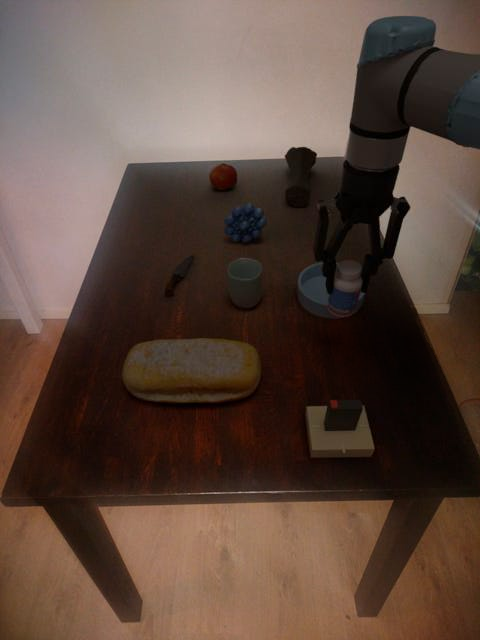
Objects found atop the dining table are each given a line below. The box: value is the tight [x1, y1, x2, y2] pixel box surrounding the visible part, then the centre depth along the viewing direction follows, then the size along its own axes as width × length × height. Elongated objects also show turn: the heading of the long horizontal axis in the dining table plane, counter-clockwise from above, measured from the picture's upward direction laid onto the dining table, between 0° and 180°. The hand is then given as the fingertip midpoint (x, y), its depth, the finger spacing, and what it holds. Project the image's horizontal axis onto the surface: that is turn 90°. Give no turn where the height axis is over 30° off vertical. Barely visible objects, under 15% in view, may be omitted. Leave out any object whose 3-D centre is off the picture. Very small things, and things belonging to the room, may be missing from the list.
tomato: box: [209, 162, 238, 191], centre depth 127 cm, size 9×9×8 cm
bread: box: [121, 337, 262, 405], centre depth 73 cm, size 13×26×8 cm, turn 90°
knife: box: [163, 255, 194, 298], centre depth 98 cm, size 17×2×5 cm
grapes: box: [224, 202, 268, 244], centre depth 104 cm, size 12×7×12 cm, turn 84°
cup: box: [226, 257, 264, 309], centre depth 87 cm, size 8×8×10 cm
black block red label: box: [324, 399, 363, 431], centre depth 61 cm, size 5×2×7 cm, turn 90°
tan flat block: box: [304, 404, 375, 459], centre depth 65 cm, size 10×9×3 cm
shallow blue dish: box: [296, 261, 366, 320], centre depth 89 cm, size 15×16×4 cm
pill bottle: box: [327, 259, 363, 318], centre depth 69 cm, size 6×5×10 cm
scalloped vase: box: [284, 146, 318, 208], centre depth 125 cm, size 11×10×28 cm
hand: (345, 288), depth 69 cm, fingers closed on pill bottle, 5 cm apart
